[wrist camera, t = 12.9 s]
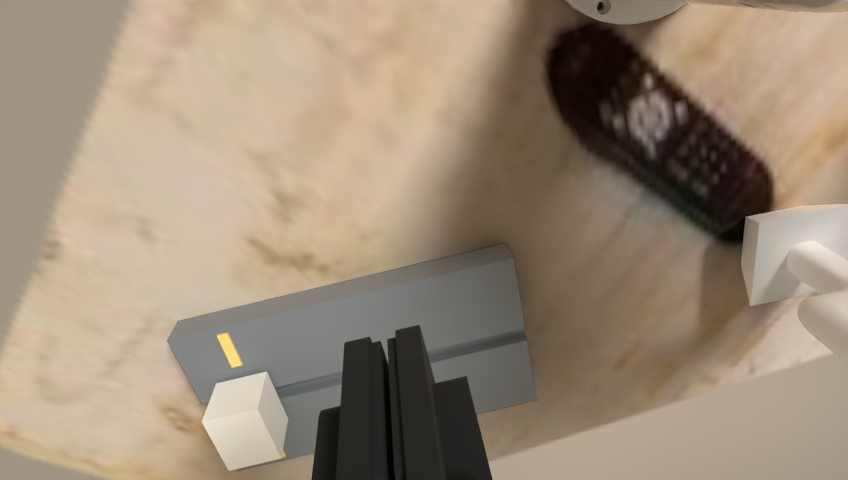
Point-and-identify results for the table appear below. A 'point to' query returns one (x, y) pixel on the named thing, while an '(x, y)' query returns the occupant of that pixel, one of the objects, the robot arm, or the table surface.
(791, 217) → the figurine
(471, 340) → the fader board
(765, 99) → the table surface
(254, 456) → the fader knob
